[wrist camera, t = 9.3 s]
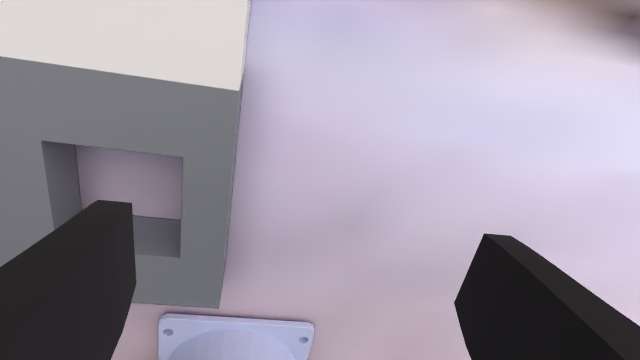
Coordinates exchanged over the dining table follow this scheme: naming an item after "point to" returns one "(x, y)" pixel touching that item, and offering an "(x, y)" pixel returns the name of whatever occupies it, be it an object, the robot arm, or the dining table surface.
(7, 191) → the white grey peg board
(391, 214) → the dining table surface
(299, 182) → the dining table surface
